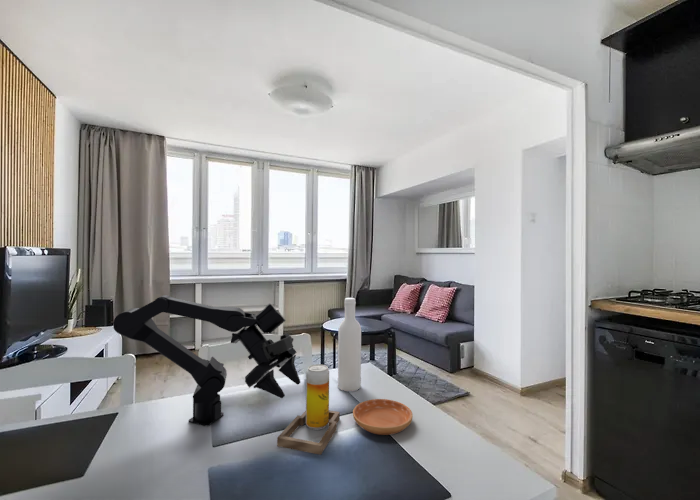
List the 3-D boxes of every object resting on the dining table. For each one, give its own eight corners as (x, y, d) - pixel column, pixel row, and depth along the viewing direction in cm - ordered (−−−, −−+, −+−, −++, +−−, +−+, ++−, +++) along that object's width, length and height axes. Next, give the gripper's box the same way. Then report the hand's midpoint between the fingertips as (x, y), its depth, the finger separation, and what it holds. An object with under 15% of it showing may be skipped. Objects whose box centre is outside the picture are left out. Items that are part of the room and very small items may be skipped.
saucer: (343, 431, 84) (343, 419, 84) (364, 404, 98) (364, 394, 98) (405, 445, 78) (405, 432, 78) (417, 414, 93) (417, 404, 93)
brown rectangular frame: (277, 446, 76) (277, 437, 76) (305, 413, 92) (305, 406, 92) (320, 454, 73) (321, 445, 73) (342, 419, 89) (342, 412, 89)
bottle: (339, 381, 115) (340, 296, 115) (361, 382, 114) (362, 297, 114) (336, 391, 107) (336, 299, 107) (360, 392, 106) (360, 300, 106)
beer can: (329, 429, 84) (330, 371, 84) (305, 431, 83) (306, 372, 83) (327, 418, 90) (328, 363, 90) (304, 419, 89) (305, 364, 89)
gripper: (256, 334, 81) (295, 384, 78) (291, 319, 99) (324, 360, 96) (228, 362, 83) (266, 412, 80) (267, 343, 101) (299, 383, 98)
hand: (291, 389), depth 88 cm, fingers open, 9 cm apart
